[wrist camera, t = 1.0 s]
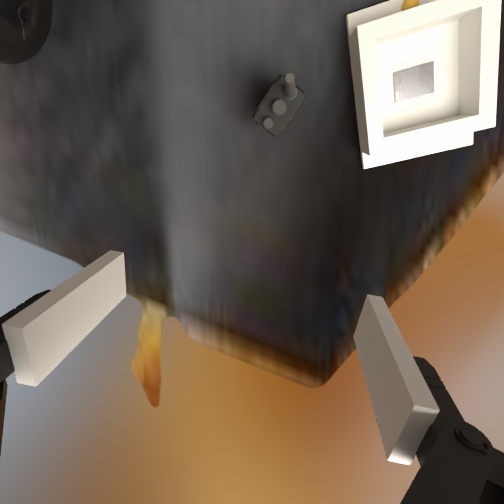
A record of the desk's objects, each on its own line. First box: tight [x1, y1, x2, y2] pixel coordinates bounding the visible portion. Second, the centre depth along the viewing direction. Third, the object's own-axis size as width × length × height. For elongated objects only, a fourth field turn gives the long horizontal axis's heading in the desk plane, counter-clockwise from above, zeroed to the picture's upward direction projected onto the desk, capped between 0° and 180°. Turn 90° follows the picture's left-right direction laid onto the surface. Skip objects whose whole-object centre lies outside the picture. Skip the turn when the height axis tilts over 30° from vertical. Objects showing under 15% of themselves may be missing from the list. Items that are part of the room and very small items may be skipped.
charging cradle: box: [346, 0, 501, 169], centre depth 31 cm, size 16×12×5 cm
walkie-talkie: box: [252, 73, 305, 136], centre depth 27 cm, size 5×3×20 cm
